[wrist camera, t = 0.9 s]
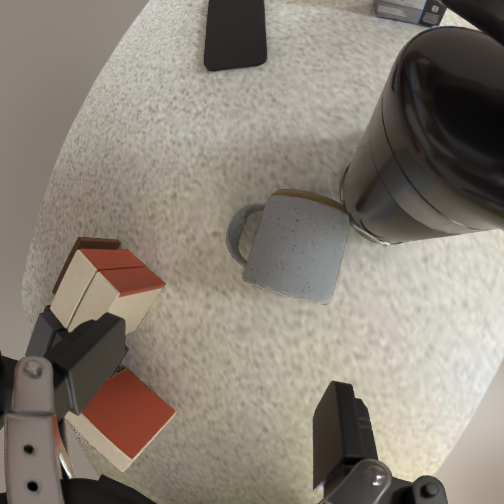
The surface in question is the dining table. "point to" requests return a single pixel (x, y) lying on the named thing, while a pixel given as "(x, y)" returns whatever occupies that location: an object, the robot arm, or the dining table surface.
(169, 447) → the dining table surface
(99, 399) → the thin ivory book
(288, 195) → the ceramic mug
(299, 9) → the dining table surface
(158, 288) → the ivory books
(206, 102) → the dining table surface
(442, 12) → the label tape box
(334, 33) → the dining table surface
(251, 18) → the phone
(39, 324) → the grey books
